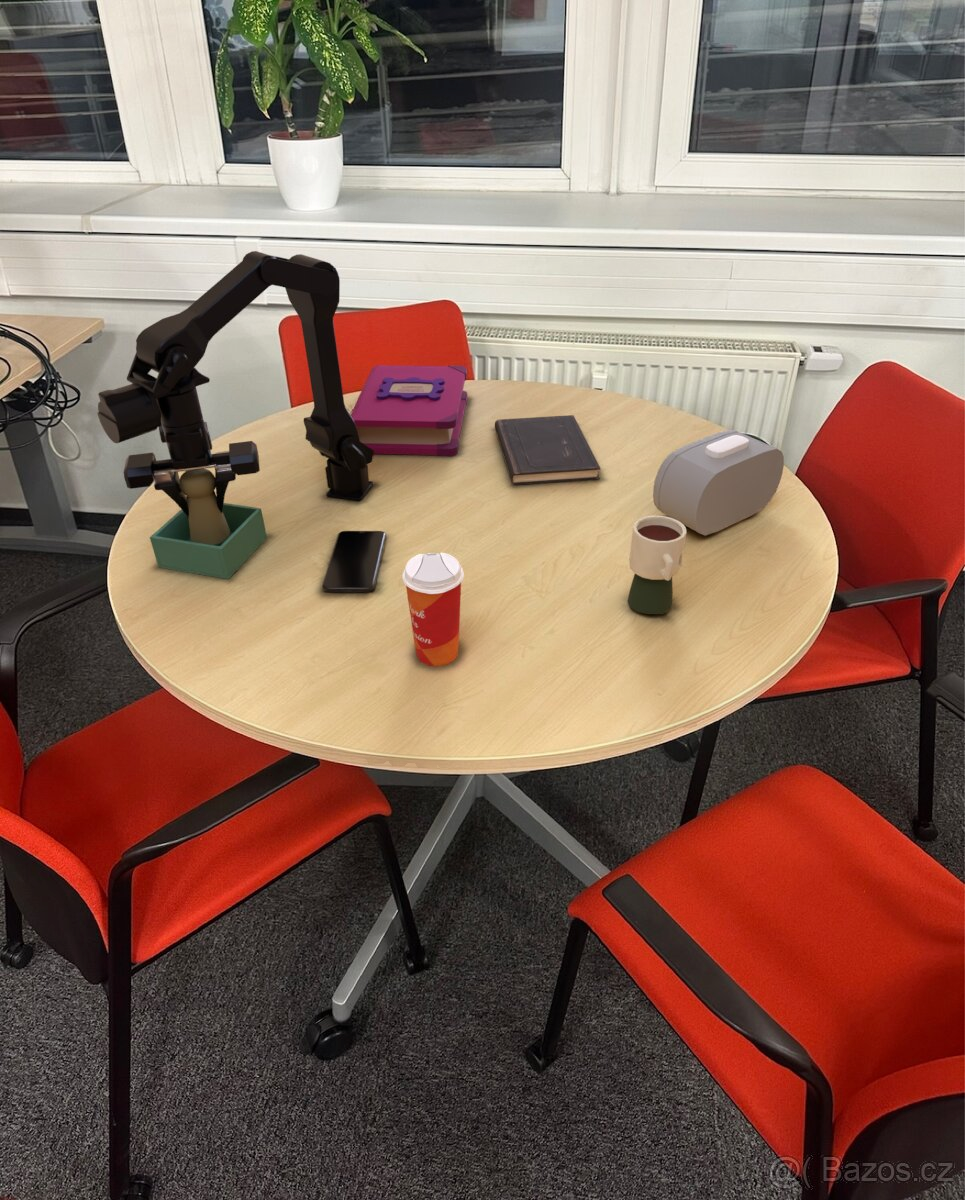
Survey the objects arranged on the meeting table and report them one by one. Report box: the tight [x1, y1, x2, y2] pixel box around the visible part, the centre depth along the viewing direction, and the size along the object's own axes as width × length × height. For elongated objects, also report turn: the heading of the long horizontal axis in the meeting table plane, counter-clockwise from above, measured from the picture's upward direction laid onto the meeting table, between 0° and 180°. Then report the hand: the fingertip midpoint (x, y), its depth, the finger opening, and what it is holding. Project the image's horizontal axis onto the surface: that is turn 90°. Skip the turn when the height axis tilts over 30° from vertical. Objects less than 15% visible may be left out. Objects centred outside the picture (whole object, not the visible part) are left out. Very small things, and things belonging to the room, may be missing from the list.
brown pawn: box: [179, 468, 230, 545], centre depth 126 cm, size 6×6×11 cm
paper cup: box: [401, 551, 465, 667], centre depth 107 cm, size 8×8×14 cm
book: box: [350, 364, 468, 457], centre depth 166 cm, size 21×28×8 cm
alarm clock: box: [652, 428, 785, 537], centre depth 135 cm, size 21×10×13 cm, turn 126°
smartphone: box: [321, 530, 387, 593], centre depth 128 cm, size 8×1×16 cm
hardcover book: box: [494, 414, 601, 486], centre depth 157 cm, size 16×23×2 cm
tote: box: [149, 502, 268, 580], centre depth 129 cm, size 12×12×6 cm
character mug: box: [627, 515, 687, 615], centre depth 115 cm, size 11×7×13 cm, turn 8°
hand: (205, 513), depth 127 cm, fingers closed on brown pawn, 4 cm apart
